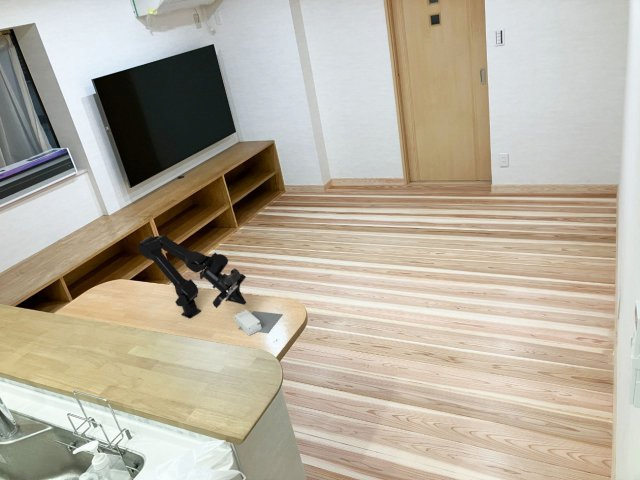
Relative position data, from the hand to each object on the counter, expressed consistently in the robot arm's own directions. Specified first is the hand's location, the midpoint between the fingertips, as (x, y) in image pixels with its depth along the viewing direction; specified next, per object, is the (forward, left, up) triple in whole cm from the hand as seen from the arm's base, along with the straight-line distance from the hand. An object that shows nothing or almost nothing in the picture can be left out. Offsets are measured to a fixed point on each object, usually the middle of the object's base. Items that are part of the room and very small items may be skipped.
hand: (245, 303), depth 212 cm
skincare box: (-3, -2, -6) cm, 6 cm away
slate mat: (+5, +2, -8) cm, 10 cm away
